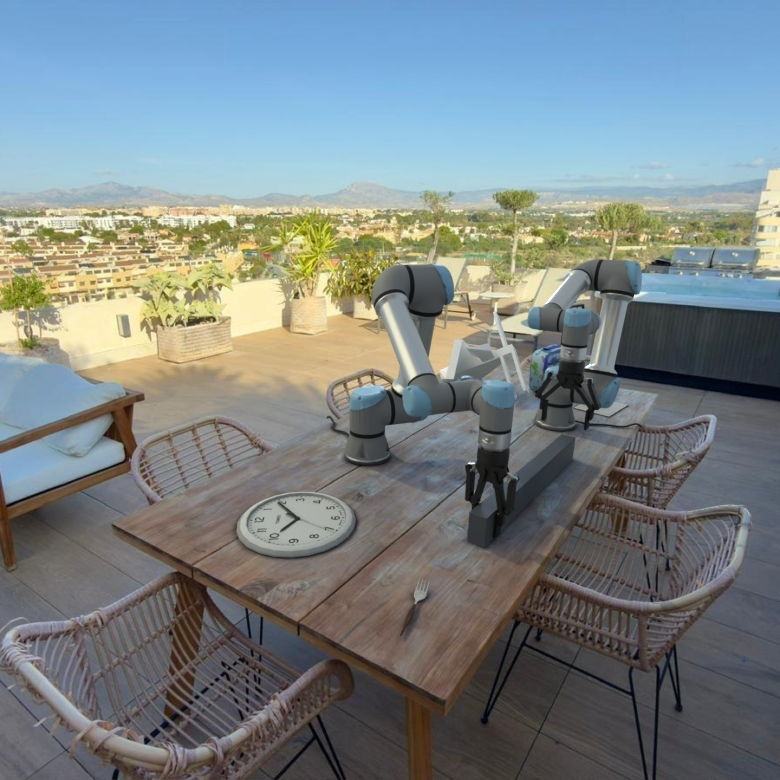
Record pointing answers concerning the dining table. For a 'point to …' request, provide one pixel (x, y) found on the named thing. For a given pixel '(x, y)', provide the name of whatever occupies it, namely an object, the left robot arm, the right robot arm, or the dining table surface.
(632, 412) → the dining table surface
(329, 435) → the dining table surface
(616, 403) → the invitation card
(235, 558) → the dining table surface
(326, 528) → the wall clock
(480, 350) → the white plastic object
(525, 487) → the post
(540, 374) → the lunch box
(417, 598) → the fork
